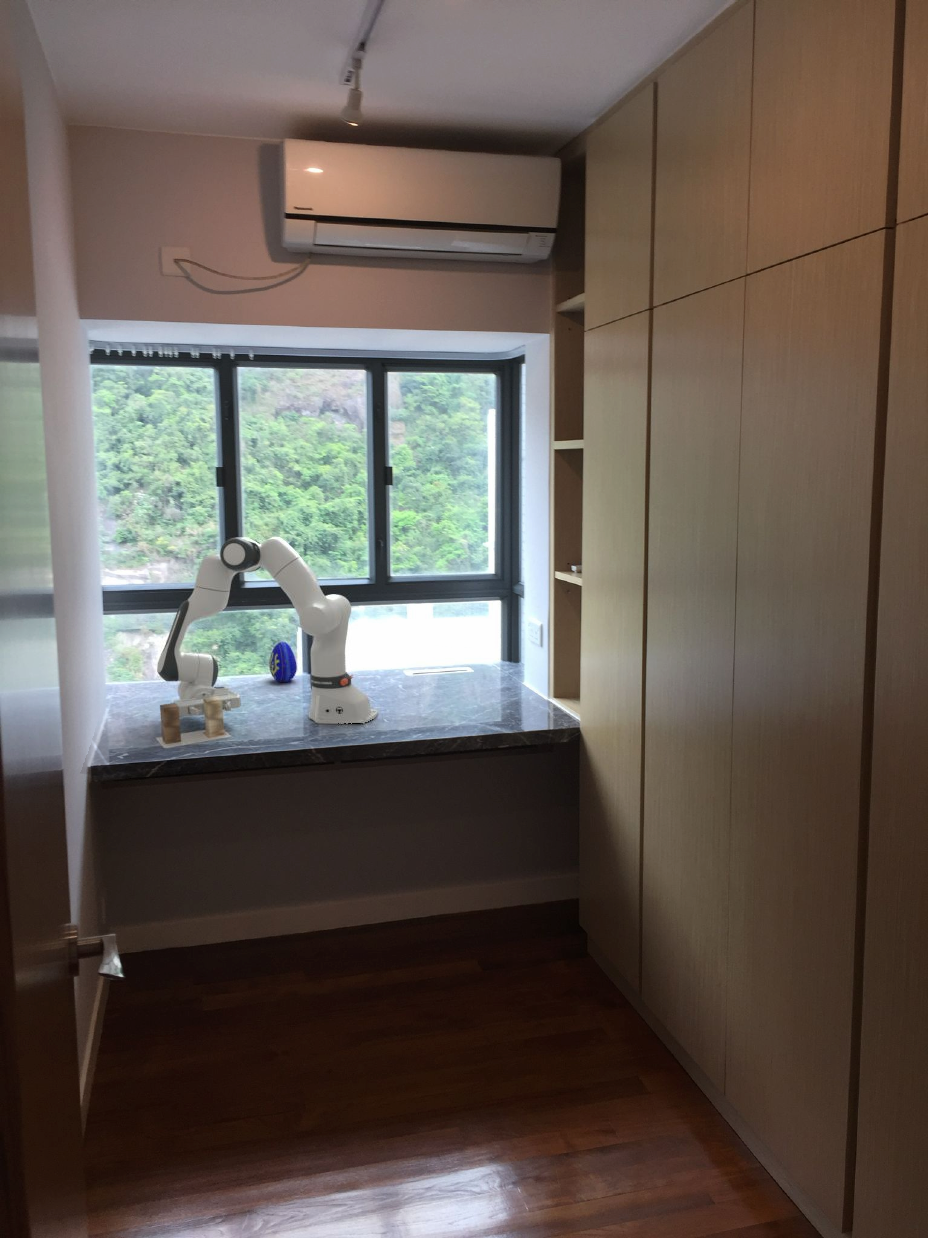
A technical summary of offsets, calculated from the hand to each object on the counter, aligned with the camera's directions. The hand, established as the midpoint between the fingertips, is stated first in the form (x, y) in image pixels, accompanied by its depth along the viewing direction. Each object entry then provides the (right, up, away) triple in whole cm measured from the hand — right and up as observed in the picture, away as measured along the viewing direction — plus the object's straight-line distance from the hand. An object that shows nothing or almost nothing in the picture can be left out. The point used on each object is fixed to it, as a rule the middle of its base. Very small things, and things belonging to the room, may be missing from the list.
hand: (214, 710), depth 287 cm
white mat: (-6, -8, -1) cm, 10 cm away
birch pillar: (0, -7, +2) cm, 7 cm away
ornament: (+9, +5, +64) cm, 65 cm away
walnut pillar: (-12, -9, -4) cm, 15 cm away
